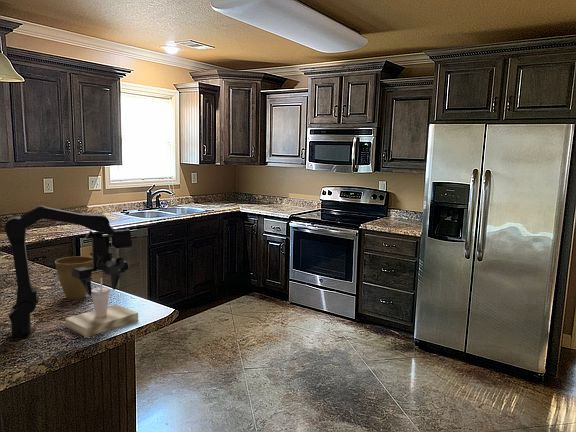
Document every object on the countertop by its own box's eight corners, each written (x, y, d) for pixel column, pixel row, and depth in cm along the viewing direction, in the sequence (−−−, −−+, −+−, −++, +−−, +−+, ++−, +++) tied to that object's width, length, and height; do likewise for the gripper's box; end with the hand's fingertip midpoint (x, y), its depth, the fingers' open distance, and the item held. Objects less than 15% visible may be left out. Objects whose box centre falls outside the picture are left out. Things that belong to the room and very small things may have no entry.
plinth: (86, 337, 148) (86, 328, 148) (65, 326, 156) (65, 318, 156) (138, 320, 164) (138, 312, 163) (116, 311, 172) (116, 304, 172)
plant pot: (102, 295, 191) (101, 259, 189) (68, 304, 178) (67, 265, 176) (82, 288, 199) (81, 254, 197) (49, 297, 187) (47, 260, 184)
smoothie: (103, 319, 156) (102, 281, 154) (87, 317, 157) (86, 279, 155) (114, 313, 162) (113, 276, 160) (98, 311, 163) (97, 274, 161)
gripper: (87, 258, 144) (89, 304, 146) (137, 249, 159) (138, 291, 161) (70, 252, 151) (72, 296, 153) (119, 244, 166) (120, 285, 168)
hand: (102, 292), depth 159 cm, fingers open, 9 cm apart
